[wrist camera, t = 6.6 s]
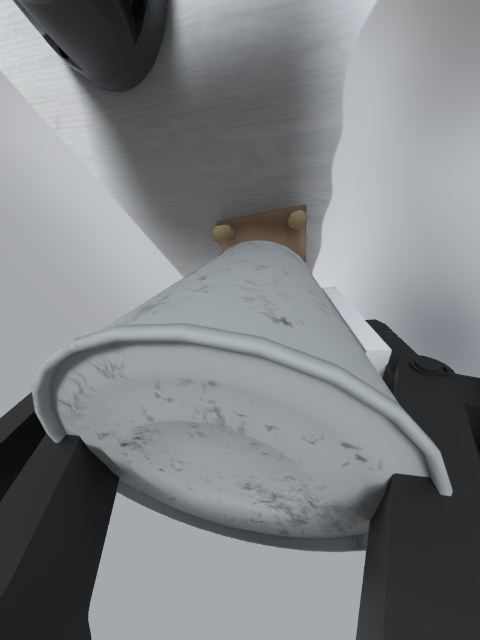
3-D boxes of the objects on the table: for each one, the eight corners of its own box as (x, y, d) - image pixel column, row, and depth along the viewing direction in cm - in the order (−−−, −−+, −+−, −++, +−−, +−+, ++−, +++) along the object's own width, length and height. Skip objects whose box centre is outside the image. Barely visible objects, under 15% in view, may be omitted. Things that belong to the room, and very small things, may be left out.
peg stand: (220, 221, 27) (204, 222, 21) (303, 205, 24) (313, 200, 18) (236, 305, 33) (227, 324, 27) (303, 300, 30) (310, 320, 24)
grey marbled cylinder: (233, 355, 19) (179, 532, 8) (182, 273, 15) (-35, 395, 5) (329, 328, 15) (453, 573, 5) (292, 213, 12) (459, 143, 1)
